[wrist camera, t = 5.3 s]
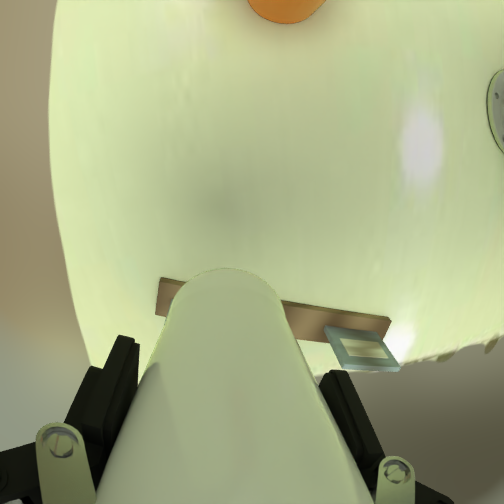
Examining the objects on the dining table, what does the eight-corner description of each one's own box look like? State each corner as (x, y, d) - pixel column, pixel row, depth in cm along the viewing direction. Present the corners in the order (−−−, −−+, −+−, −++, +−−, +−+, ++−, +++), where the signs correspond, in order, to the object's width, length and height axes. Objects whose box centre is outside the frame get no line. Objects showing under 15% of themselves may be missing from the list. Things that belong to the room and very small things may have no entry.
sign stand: (388, 317, 37) (418, 354, 30) (375, 343, 38) (401, 383, 31) (161, 277, 33) (145, 317, 25) (156, 309, 34) (142, 354, 27)
